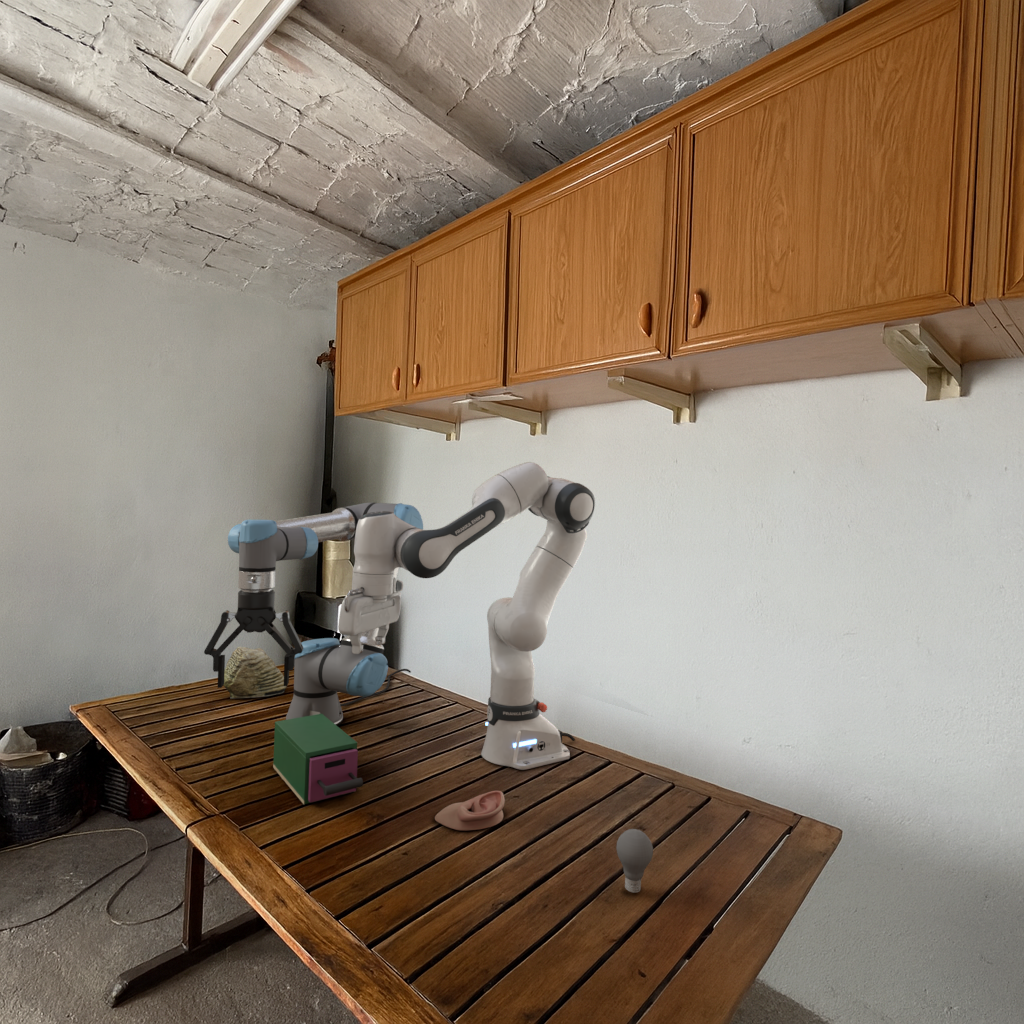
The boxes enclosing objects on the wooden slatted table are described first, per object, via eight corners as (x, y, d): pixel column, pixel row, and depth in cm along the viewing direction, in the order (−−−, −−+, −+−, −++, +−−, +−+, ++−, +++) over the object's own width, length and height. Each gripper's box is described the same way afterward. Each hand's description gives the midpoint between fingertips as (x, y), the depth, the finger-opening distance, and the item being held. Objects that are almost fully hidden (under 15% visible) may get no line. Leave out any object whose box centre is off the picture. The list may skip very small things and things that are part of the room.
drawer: (367, 801, 130) (369, 759, 130) (320, 814, 124) (321, 770, 124) (322, 758, 151) (324, 721, 151) (280, 767, 145) (281, 729, 145)
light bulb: (610, 879, 108) (613, 822, 108) (644, 879, 109) (647, 822, 109) (619, 902, 102) (622, 840, 102) (655, 901, 103) (658, 840, 103)
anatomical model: (430, 806, 123) (447, 781, 135) (429, 826, 123) (447, 799, 135) (496, 815, 121) (508, 789, 132) (495, 836, 121) (508, 808, 132)
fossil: (218, 695, 195) (220, 647, 195) (278, 685, 208) (279, 640, 207) (228, 703, 189) (230, 653, 188) (289, 692, 201) (290, 645, 201)
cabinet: (355, 791, 137) (357, 742, 137) (303, 804, 130) (305, 753, 130) (320, 757, 154) (322, 713, 153) (273, 767, 147) (274, 721, 147)
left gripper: (190, 591, 133) (187, 691, 134) (314, 592, 139) (311, 688, 139) (200, 586, 141) (197, 681, 141) (317, 587, 146) (314, 678, 146)
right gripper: (359, 592, 127) (355, 660, 127) (407, 582, 146) (403, 641, 147) (332, 589, 129) (328, 656, 129) (382, 579, 148) (379, 638, 149)
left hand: (253, 685), depth 140 cm, fingers open, 13 cm apart
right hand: (369, 648), depth 138 cm, fingers open, 8 cm apart
